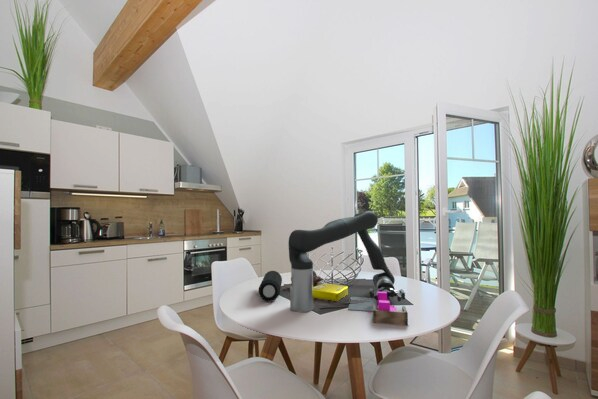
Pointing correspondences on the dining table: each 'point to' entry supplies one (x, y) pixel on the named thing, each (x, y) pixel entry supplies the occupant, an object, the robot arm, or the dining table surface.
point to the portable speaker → (270, 286)
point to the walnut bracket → (390, 316)
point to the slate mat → (363, 304)
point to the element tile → (330, 291)
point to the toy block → (384, 302)
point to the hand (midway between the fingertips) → (387, 298)
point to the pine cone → (316, 279)
